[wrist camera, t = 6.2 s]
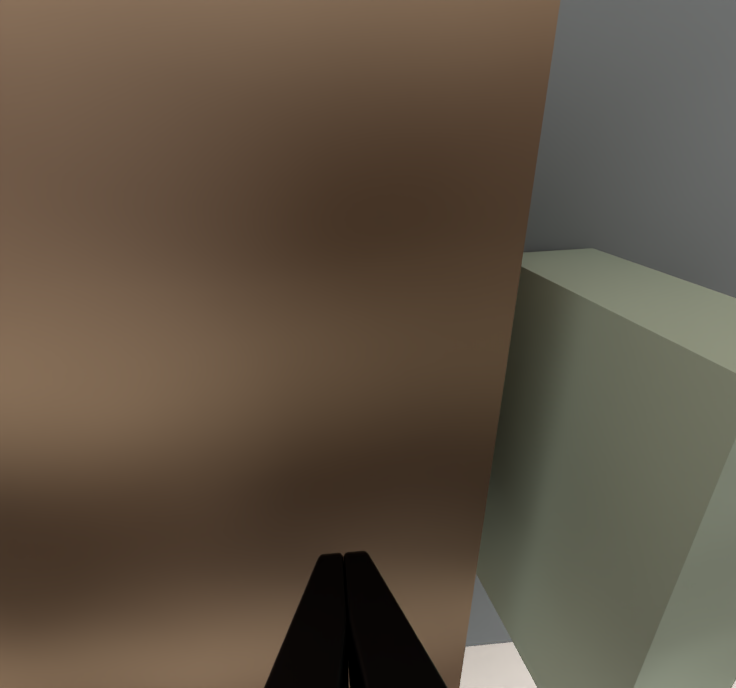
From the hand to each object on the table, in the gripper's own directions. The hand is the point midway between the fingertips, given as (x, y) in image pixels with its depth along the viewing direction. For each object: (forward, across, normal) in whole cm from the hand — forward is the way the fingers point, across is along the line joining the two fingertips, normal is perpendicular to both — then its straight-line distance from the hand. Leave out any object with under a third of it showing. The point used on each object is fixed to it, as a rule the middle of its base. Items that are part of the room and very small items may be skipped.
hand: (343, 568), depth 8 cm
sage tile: (+1, -4, 0) cm, 4 cm away
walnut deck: (+5, +3, 0) cm, 6 cm away
